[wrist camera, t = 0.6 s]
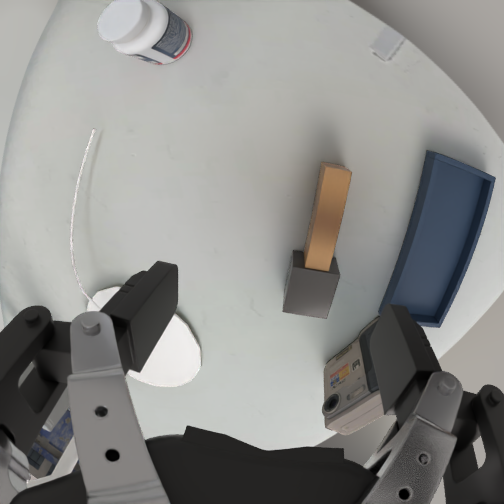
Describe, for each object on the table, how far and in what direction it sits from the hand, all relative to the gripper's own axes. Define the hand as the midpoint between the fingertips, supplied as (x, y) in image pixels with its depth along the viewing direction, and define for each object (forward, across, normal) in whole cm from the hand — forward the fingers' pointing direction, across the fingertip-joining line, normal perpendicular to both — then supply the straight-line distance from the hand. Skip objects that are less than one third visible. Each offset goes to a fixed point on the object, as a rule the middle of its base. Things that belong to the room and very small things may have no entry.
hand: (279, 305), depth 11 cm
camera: (+18, -13, +17) cm, 27 cm away
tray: (+18, -16, +2) cm, 24 cm away
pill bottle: (+18, +14, -14) cm, 26 cm away
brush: (+18, -4, +4) cm, 18 cm away
